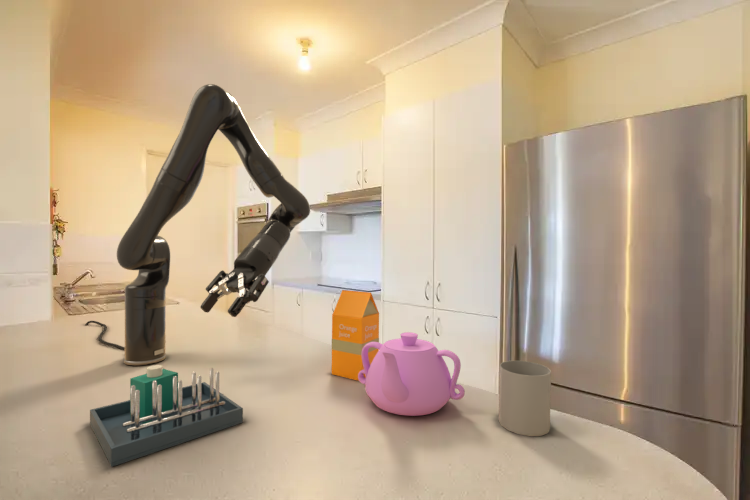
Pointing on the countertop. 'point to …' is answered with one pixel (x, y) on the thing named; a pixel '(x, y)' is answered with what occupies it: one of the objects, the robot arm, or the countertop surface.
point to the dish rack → (157, 406)
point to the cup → (524, 397)
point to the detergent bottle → (146, 389)
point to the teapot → (409, 376)
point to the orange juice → (353, 332)
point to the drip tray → (123, 449)
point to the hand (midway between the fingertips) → (217, 312)
